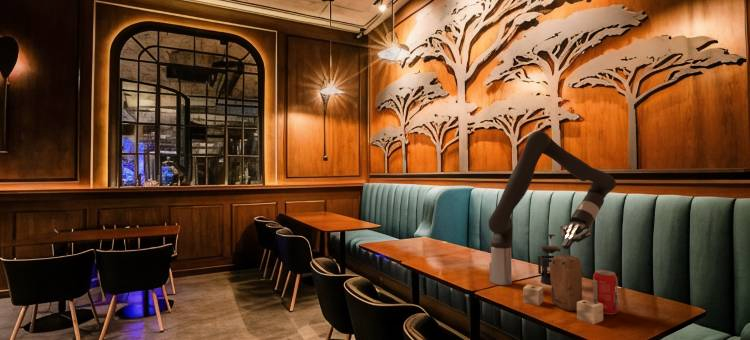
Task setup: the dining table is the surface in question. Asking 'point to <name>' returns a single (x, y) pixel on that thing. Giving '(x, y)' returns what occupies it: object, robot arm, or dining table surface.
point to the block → (566, 281)
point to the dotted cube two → (590, 311)
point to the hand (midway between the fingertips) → (564, 247)
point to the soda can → (606, 290)
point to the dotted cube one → (533, 295)
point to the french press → (546, 249)
